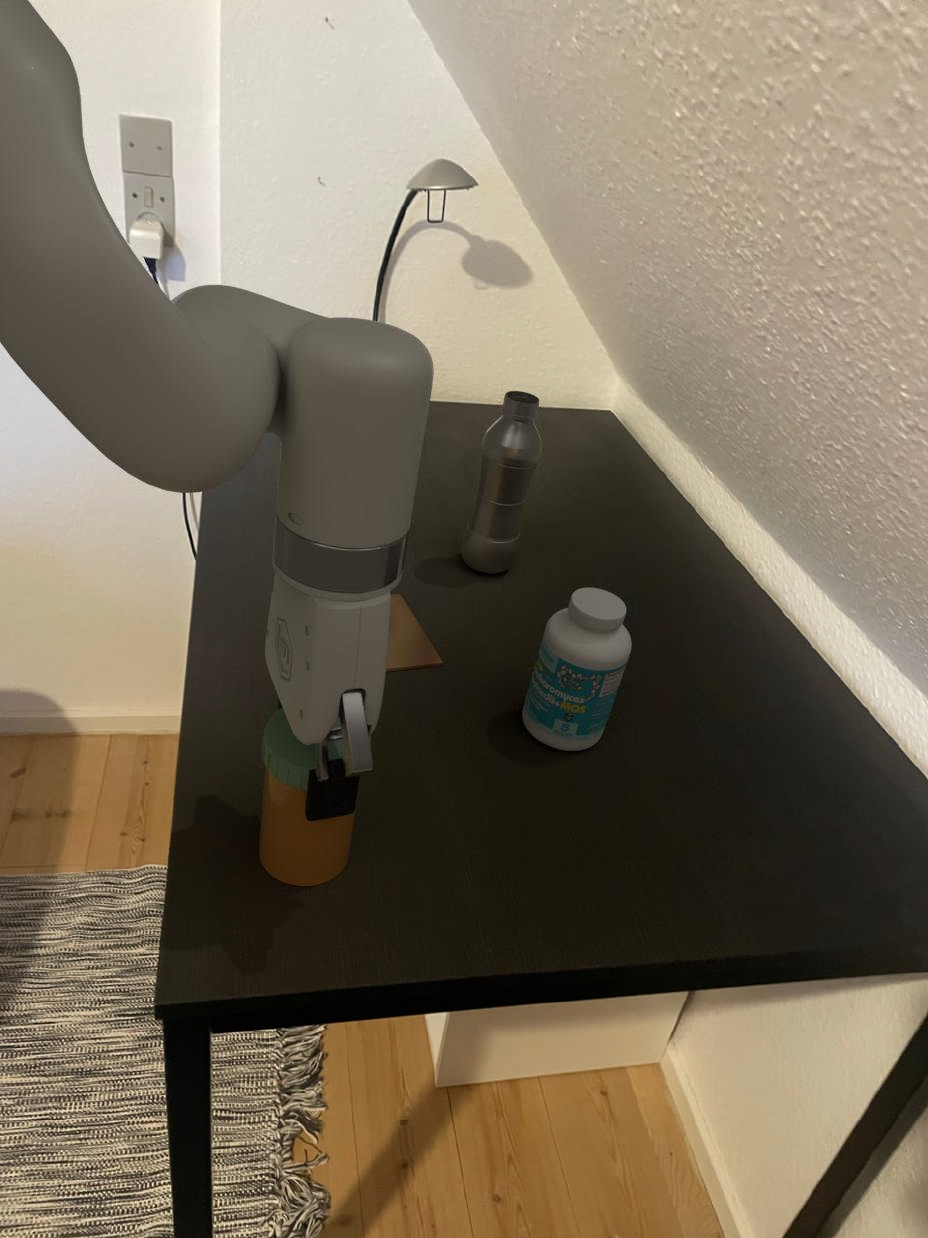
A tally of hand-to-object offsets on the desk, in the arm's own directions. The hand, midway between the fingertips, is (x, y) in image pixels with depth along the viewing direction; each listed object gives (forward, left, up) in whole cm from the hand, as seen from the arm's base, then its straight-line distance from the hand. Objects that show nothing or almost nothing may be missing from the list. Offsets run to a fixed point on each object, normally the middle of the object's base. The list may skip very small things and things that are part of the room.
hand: (313, 772), depth 63 cm
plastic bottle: (+24, +41, -8) cm, 48 cm away
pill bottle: (+24, +13, -8) cm, 28 cm away
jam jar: (0, 0, -8) cm, 8 cm away
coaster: (+8, +27, -8) cm, 29 cm away
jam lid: (0, 0, +3) cm, 3 cm away
